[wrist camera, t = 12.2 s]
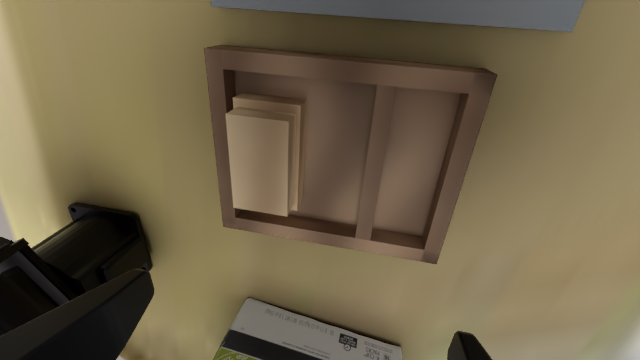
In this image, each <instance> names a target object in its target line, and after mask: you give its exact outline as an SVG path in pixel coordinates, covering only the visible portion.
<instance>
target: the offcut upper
mask: <svg viewBox="0 0 640 360" xmlns="http://www.w3.org/2000/svg"><path fill="white" fill-rule="evenodd" d="M225 115H226V126H227V138H228V150H229V162H230V173H231V185H232V197H233V208H238V209H244V210H250V211H256V212H262V213H268V214H274V215H281V216H288V214H289V212H290V210H291V208H292V206H293V204H294V175H295V135H296V114H293V113H285V112H276V111H268V110H259V109H251V108H242V107H236V108H235V109H233V110H231V111H230V112H228V113H226V114H225Z"/></svg>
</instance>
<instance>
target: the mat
mask: <svg viewBox="0 0 640 360" xmlns="http://www.w3.org/2000/svg"><path fill="white" fill-rule="evenodd" d="M584 2H585V0H211V7H225V8H239V9H253V10H267V11H281V12H295V13H309V14H323V15H338V16H352V17H366V18H380V19H394V20H408V21H422V22H436V23H451V24H465V25H479V26H493V27H507V28H521V29H535V30H549V31H564V32H572V31H573V29H574V26H575V24H576V22H577V19H578V17H579V14H580V12H581V9H582V7H583V4H584Z"/></svg>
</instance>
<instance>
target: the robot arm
mask: <svg viewBox="0 0 640 360" xmlns="http://www.w3.org/2000/svg"><path fill="white" fill-rule="evenodd" d="M68 209H69V212H70V214H71V217H72V219H73V222H71V223H70V224H68V225H67V226H65V227H64V228H62V229H60V230H59V231H57V232H56V233H54V234H53V235H51V236H50V237H48V238H47V239H45V240H43V241H42V242H40V243H39V244H37V245H36V246H34V247H33V248H30V247H29V246H28V244H29V243H28V242H27V241H26V240H25V239H24V238H22V239H20V240H18V241H15V242H13V241H12V240H11V241H10V240H8V239H5V238H3V237H0V360H116V359H117V357H118V356H119V354H120V353H121V351H122V350H123V348H124V347H125V345H126V343H127V342H128V340H129V338H130V337H131V335H132V333H133V331H134V330H135V328H136V326H137V324H138V322H139V321H140V319H141V317H142V315H143V314H144V312H145V310H146V308H147V306H148V305H149V303H150V301H151V299H152V297H153V295H154V286H153V283H152V279H151V275H150V273H149V271H150V270H151V269H152V266H151V262H150V259H149V255H148V251H147V247H146V243H145V240H144V236H143V232H142V228H141V224H140V221H139V218H138V216H137V215H136V214H134V213H131V212H125V211H119V210H114V209H108V208H102V207H97V206H91V205H85V204H80V203H73V204H71V205H69V206H68ZM447 359H448V360H492V359H491V357H490V356H489V355H488V353H487V352H486V350H485V349H484V348H483V346H482V345H481V344H480V342H479V341H478V340H477V338H476V337H475V336H474V335H473V334H471V333H467V332H462V331H457V332H456V333H455V334H454V337H453V339H452V342H451V344H450V346H449V349H448V355H447Z"/></svg>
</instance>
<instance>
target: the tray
mask: <svg viewBox="0 0 640 360" xmlns="http://www.w3.org/2000/svg"><path fill="white" fill-rule="evenodd" d="M204 52H205V62H206V71H207V80H208V90H209V99H210V108H211V118H212V127H213V136H214V145H215V155H216V164H217V173H218V183H219V192H220V201H221V211H222V220H223V227H228V228H234V229H239V230H245V231H251V232H256V233H262V234H268V235H273V236H279V237H285V238H290V239H296V240H302V241H307V242H313V243H319V244H324V245H330V246H336V247H341V248H347V249H353V250H358V251H364V252H370V253H375V254H381V255H387V256H392V257H398V258H404V259H409V260H415V261H421V262H427V263H432V264H437V261H438V258H439V255H440V252H441V249H442V246H443V243H444V239H445V236H446V233H447V230H448V227H449V224H450V221H451V218H452V214H453V211H454V208H455V205H456V202H457V199H458V196H459V193H460V190H461V186H462V183H463V180H464V177H465V174H466V171H467V168H468V165H469V161H470V158H471V155H472V152H473V149H474V146H475V143H476V140H477V136H478V133H479V130H480V127H481V124H482V121H483V118H484V115H485V112H486V108H487V105H488V102H489V99H490V96H491V93H492V90H493V87H494V83H495V80H496V77H497V74H495V73H493V72H491V71H489V70H487V69H483V68H472V67H460V66H449V65H438V64H427V63H415V62H404V61H393V60H382V59H371V58H359V57H348V56H337V55H326V54H314V53H303V52H292V51H281V50H269V49H258V48H247V47H236V46H225V45H220V46H214V47H208V48H204ZM243 92H245V93H254V94H264V95H273V96H282V97H291V98H300V99H307V107H306V131H305V156H304V180H303V200H302V202H301V204H300V206H299V208H298V210H297V211H296V210H290V212H289V214H288V216H281V215H274V214H268V213H262V212H256V211H250V210H244V209H238V208H233V197H232V185H231V173H230V162H229V150H228V138H227V126H226V115H225V114H226V113H228V112H230V111H231V110H233V97H235V96H237V95H239V94H241V93H243Z"/></svg>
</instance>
